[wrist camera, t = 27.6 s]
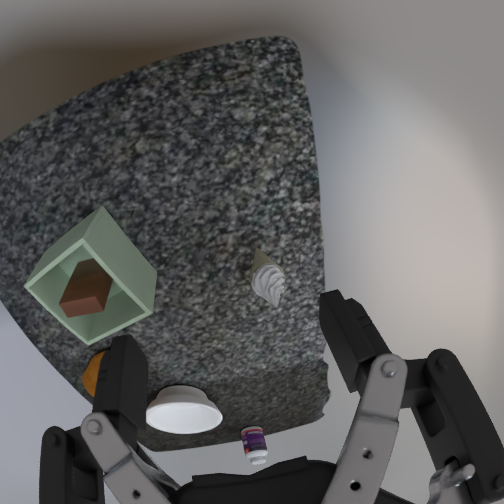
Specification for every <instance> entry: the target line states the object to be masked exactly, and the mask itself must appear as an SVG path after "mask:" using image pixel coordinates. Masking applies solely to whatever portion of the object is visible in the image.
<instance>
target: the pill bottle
mask: <svg viewBox="0 0 504 504" xmlns="http://www.w3.org/2000/svg"><path fill="white" fill-rule="evenodd" d="M241 436H242V441H243V446H244V451H245V456H246V458H248V459H250V462H251V464H252V465H257V464H262V463H265V462H266V458H265V456H266V455H267V454H268V451H267V447H266V443H265V439H264V434H263V430H262V428H261V427H259V426H251V427H247V428H244V429H243V430H242V431H241Z"/></svg>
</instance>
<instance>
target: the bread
mask: <svg viewBox="0 0 504 504" xmlns="http://www.w3.org/2000/svg"><path fill="white" fill-rule="evenodd" d="M104 353H105V351H103V352H101V353H99V354H97V355H95V356H94V357H93V358H92V359H91V360H90V362H89V365H88V366H87V368H86V370H85V372H84V374H83V376H82V382H83V384H84V387H85V388H86V389H87V391H88V392H89V393H90V394H91V395H92V396H93V397H94V395H95V388H96V382H97V376H98V372H99V371H98V370H99V365H100V360H101V358H102V356H103V355H104Z"/></svg>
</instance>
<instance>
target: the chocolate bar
mask: <svg viewBox="0 0 504 504" xmlns="http://www.w3.org/2000/svg"><path fill="white" fill-rule="evenodd" d="M112 282H113V278H112V277H111V276H110V275H109V274H108V273H107V272H106V271H105V270H104V269H103V268H102V266H101V265H100V264H99V263H98V262H97V261H96V260H95V259H94V258H92V259H88V260H84V261H80V262H78V263H77V265H76V267H75V269H74V271H73V273H72V275H71V277H70V280H69V282H68V284H67V286H66V288H65V290H64V293H63V295H62V297H61V300H60V302H59V305H60V307H61V308H62V310H63V311H64V313H65V314H66V316H67V317H68V318H70V317H76V316H81V315H87V314H92V313H97V312H103V311H104V309H105V306H106V302H107V299H108V295H109V292H110V288H111V285H112Z"/></svg>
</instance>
